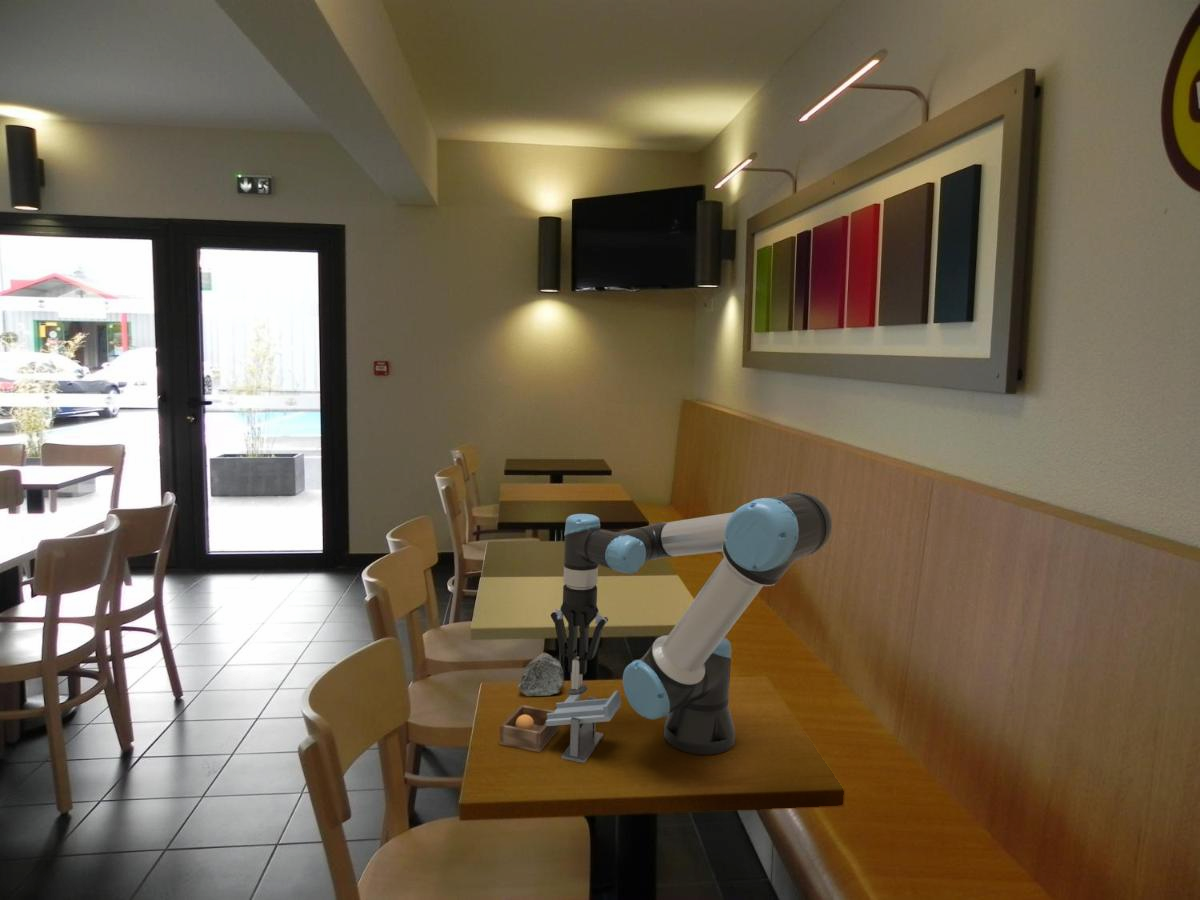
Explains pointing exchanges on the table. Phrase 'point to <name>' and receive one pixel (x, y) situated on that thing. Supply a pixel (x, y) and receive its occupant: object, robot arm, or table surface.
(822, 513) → the robot arm
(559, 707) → the seesaw
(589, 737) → the pivot stand
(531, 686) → the stone
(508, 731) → the tray
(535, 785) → the table surface
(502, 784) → the table surface
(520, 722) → the ball
